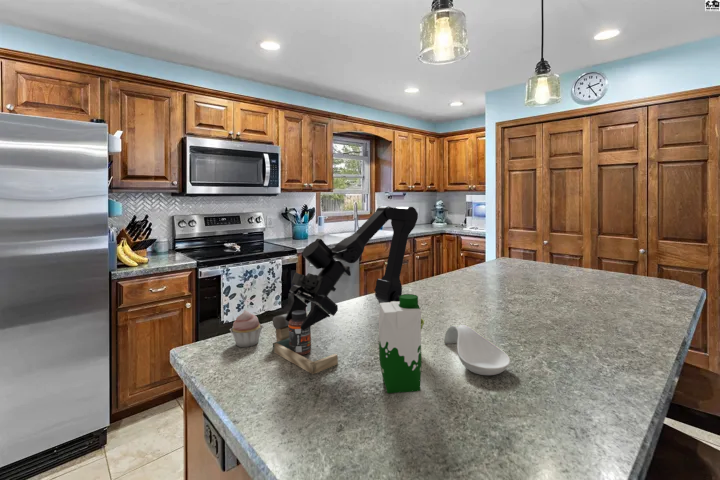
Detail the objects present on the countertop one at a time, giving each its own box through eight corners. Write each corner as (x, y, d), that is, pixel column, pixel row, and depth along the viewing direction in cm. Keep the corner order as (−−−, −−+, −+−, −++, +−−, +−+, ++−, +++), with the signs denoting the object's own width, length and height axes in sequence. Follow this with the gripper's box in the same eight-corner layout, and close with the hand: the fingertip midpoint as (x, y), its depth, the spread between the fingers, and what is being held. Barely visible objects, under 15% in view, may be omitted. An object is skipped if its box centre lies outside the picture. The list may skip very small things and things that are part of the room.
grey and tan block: (295, 342, 108) (294, 313, 107) (280, 347, 105) (278, 317, 104) (289, 339, 111) (287, 310, 110) (273, 344, 108) (272, 314, 107)
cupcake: (253, 335, 115) (251, 304, 114) (269, 342, 109) (267, 309, 108) (225, 343, 109) (222, 311, 108) (239, 352, 102) (237, 317, 101)
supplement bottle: (303, 357, 98) (301, 316, 96) (285, 354, 100) (283, 314, 99) (315, 349, 103) (313, 310, 102) (297, 346, 105) (296, 307, 104)
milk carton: (425, 393, 78) (424, 301, 76) (383, 396, 77) (381, 303, 75) (415, 373, 87) (414, 291, 85) (377, 376, 86) (375, 292, 84)
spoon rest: (520, 378, 84) (521, 348, 83) (473, 385, 81) (473, 354, 80) (468, 341, 107) (468, 317, 106) (430, 345, 104) (430, 320, 103)
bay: (337, 364, 93) (337, 354, 93) (312, 374, 88) (312, 364, 88) (296, 344, 107) (296, 335, 107) (273, 351, 102) (272, 343, 102)
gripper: (293, 257, 109) (259, 301, 103) (326, 265, 94) (288, 316, 88) (318, 280, 114) (287, 322, 109) (352, 290, 99) (318, 340, 94)
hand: (293, 324), depth 100 cm, fingers open, 9 cm apart
